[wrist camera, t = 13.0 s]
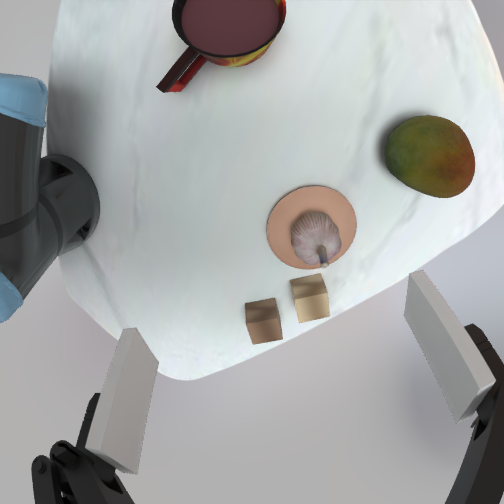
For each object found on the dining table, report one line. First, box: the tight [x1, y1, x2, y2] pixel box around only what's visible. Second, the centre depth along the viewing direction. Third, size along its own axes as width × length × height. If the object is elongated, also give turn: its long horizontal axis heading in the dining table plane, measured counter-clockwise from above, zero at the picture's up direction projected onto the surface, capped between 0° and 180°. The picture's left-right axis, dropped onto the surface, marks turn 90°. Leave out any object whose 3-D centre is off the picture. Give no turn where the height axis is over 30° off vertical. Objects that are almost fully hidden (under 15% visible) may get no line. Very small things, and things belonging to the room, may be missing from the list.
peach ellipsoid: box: [267, 186, 357, 269], centre depth 43 cm, size 13×13×1 cm
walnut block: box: [245, 298, 283, 345], centre depth 49 cm, size 5×5×5 cm
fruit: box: [385, 116, 475, 198], centre depth 33 cm, size 12×13×10 cm
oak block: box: [290, 273, 330, 323], centre depth 47 cm, size 5×5×5 cm
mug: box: [156, 0, 286, 93], centre depth 25 cm, size 10×14×12 cm
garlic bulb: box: [291, 212, 342, 268], centre depth 39 cm, size 8×7×8 cm
